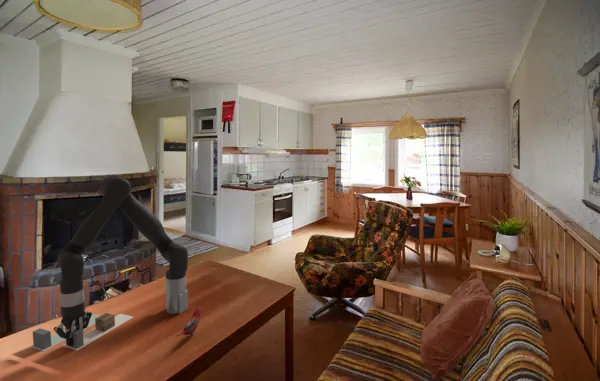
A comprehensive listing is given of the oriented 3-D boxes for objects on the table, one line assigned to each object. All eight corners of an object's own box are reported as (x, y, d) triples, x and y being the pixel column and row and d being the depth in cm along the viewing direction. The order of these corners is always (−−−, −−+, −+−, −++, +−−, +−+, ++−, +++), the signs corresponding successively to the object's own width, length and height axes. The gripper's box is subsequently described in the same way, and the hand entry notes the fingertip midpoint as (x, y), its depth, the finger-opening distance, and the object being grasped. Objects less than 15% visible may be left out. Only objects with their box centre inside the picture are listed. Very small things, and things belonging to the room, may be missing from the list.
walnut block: (114, 325, 132) (114, 315, 131) (104, 331, 127) (103, 320, 127) (106, 323, 133) (105, 312, 133) (95, 329, 129) (95, 318, 128)
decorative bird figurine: (203, 327, 135) (203, 306, 134) (179, 351, 118) (179, 327, 117) (198, 326, 136) (197, 305, 135) (173, 350, 119) (172, 326, 117)
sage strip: (106, 319, 138) (106, 304, 138) (44, 353, 114) (42, 336, 113) (93, 315, 141) (93, 301, 140) (29, 349, 116) (28, 332, 115)
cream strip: (133, 318, 140) (133, 304, 139) (77, 352, 115) (76, 335, 114) (120, 315, 142) (120, 301, 141) (62, 348, 117) (61, 331, 117)
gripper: (60, 311, 108) (63, 356, 110) (96, 295, 121) (98, 335, 123) (45, 308, 110) (48, 351, 112) (83, 292, 124) (85, 331, 126)
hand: (75, 342), depth 118 cm, fingers closed on cream strip, 2 cm apart
